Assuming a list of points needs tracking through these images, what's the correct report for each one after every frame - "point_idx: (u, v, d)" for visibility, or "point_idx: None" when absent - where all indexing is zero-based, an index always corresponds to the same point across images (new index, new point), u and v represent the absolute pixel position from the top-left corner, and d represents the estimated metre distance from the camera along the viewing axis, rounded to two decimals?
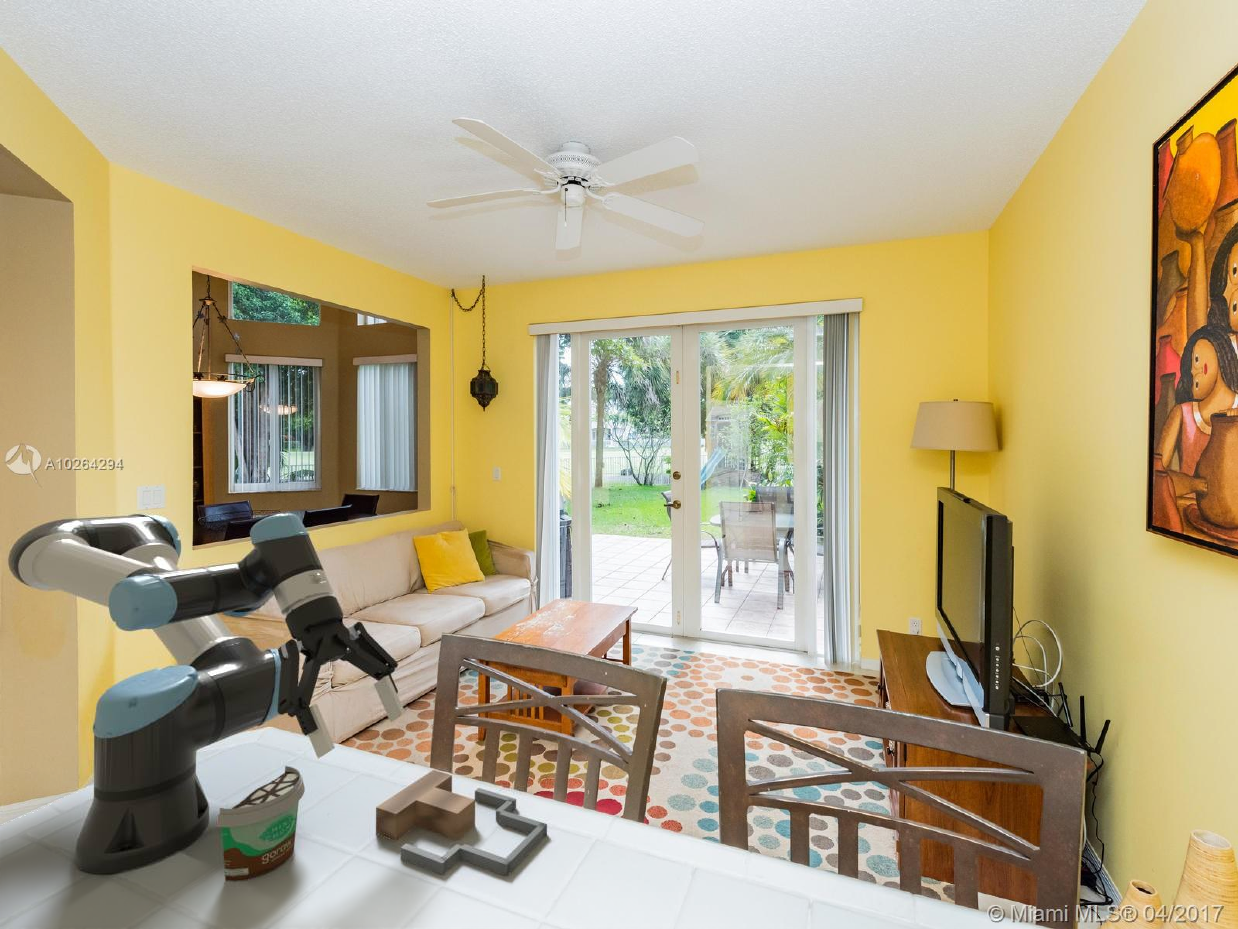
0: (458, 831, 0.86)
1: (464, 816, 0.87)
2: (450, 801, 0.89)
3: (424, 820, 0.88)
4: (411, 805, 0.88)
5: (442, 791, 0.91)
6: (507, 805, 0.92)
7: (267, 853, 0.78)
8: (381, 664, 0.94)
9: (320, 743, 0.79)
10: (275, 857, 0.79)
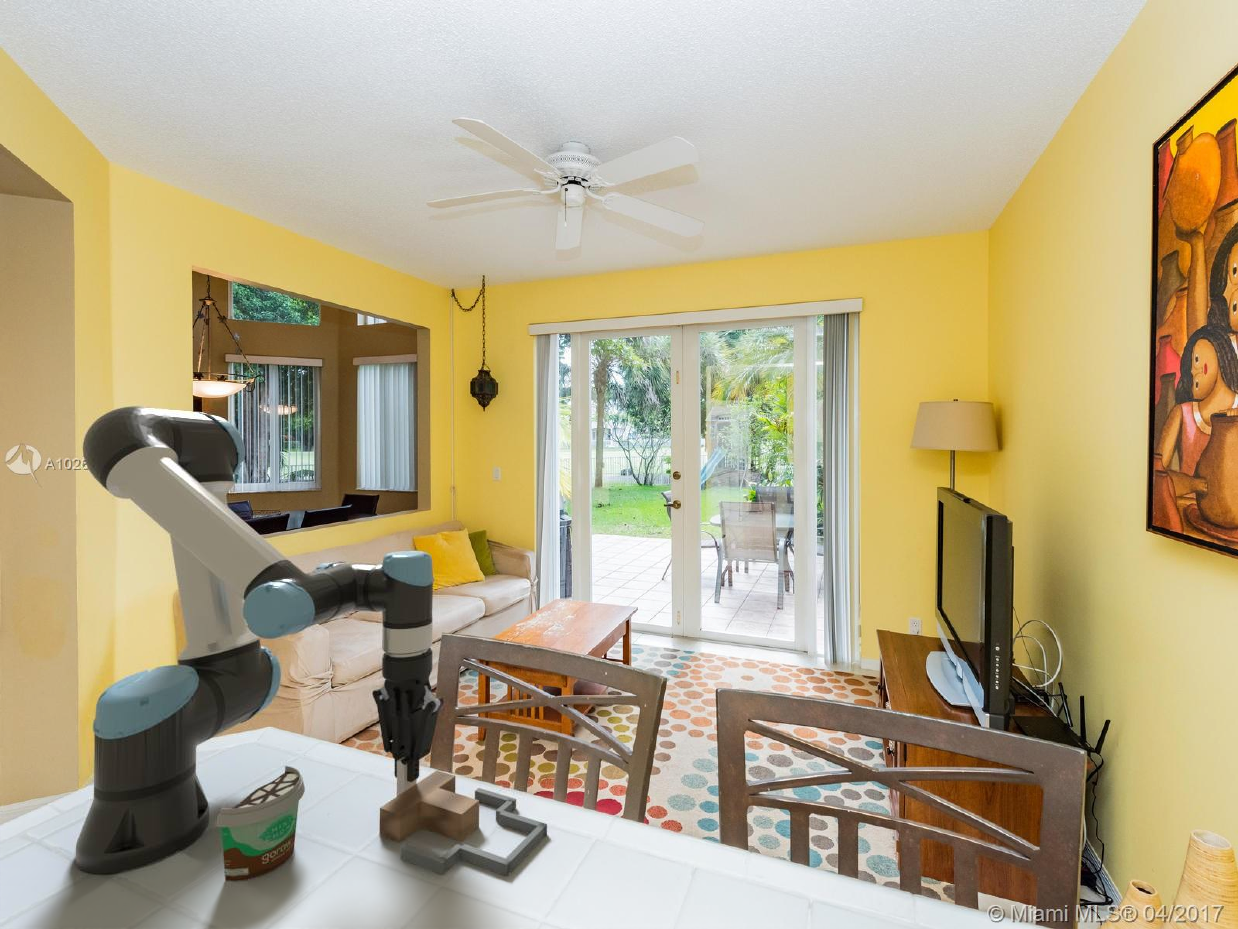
0: (462, 832, 0.86)
1: (468, 816, 0.87)
2: (454, 802, 0.89)
3: (428, 821, 0.88)
4: (415, 806, 0.88)
5: (446, 792, 0.91)
6: (507, 805, 0.92)
7: (267, 853, 0.78)
8: None
9: None
10: (275, 857, 0.79)
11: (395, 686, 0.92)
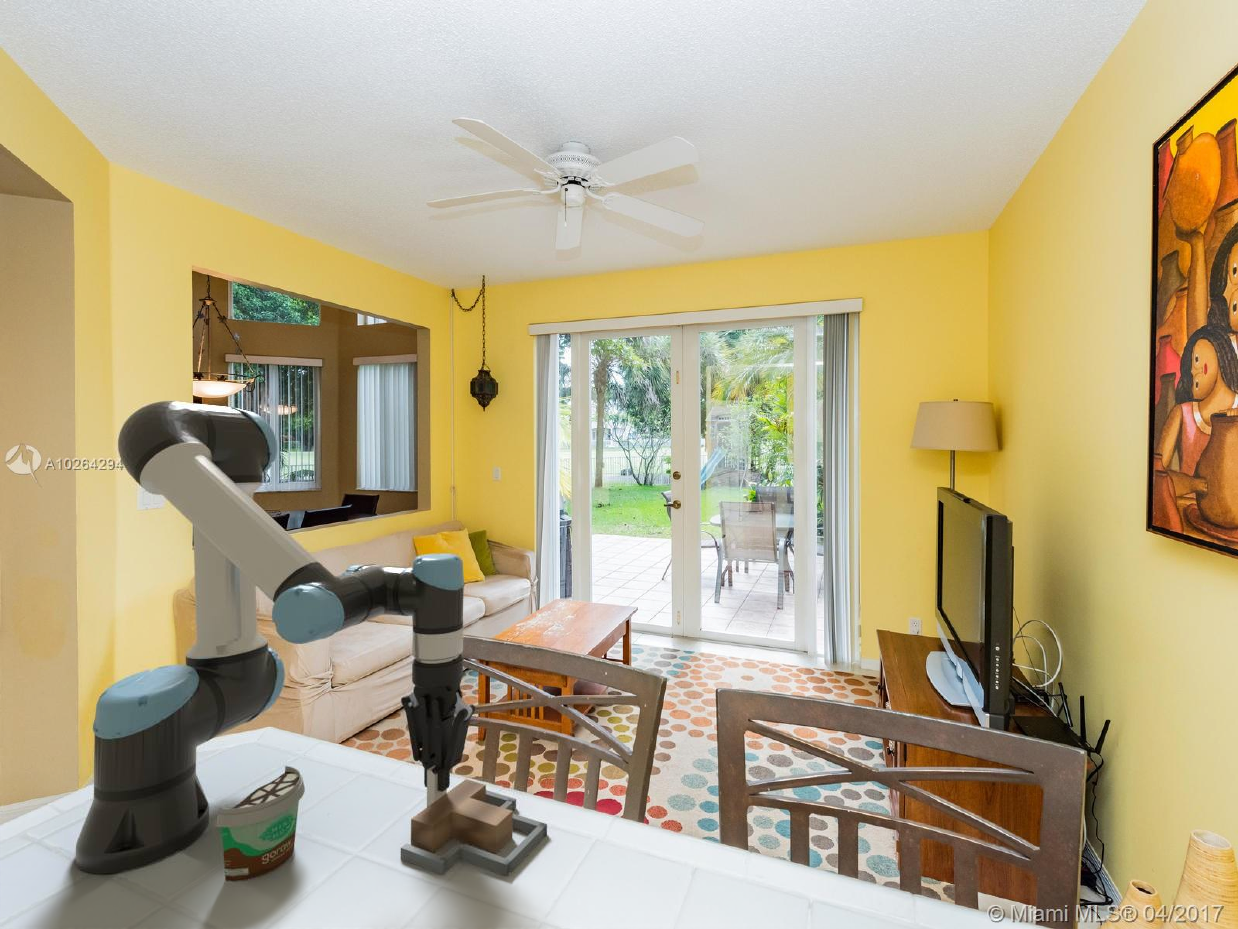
0: (496, 844, 0.83)
1: (502, 828, 0.84)
2: (487, 812, 0.86)
3: (460, 832, 0.85)
4: (447, 817, 0.85)
5: (477, 802, 0.88)
6: (507, 805, 0.92)
7: (267, 853, 0.78)
8: None
9: None
10: (275, 857, 0.79)
11: (425, 693, 0.90)
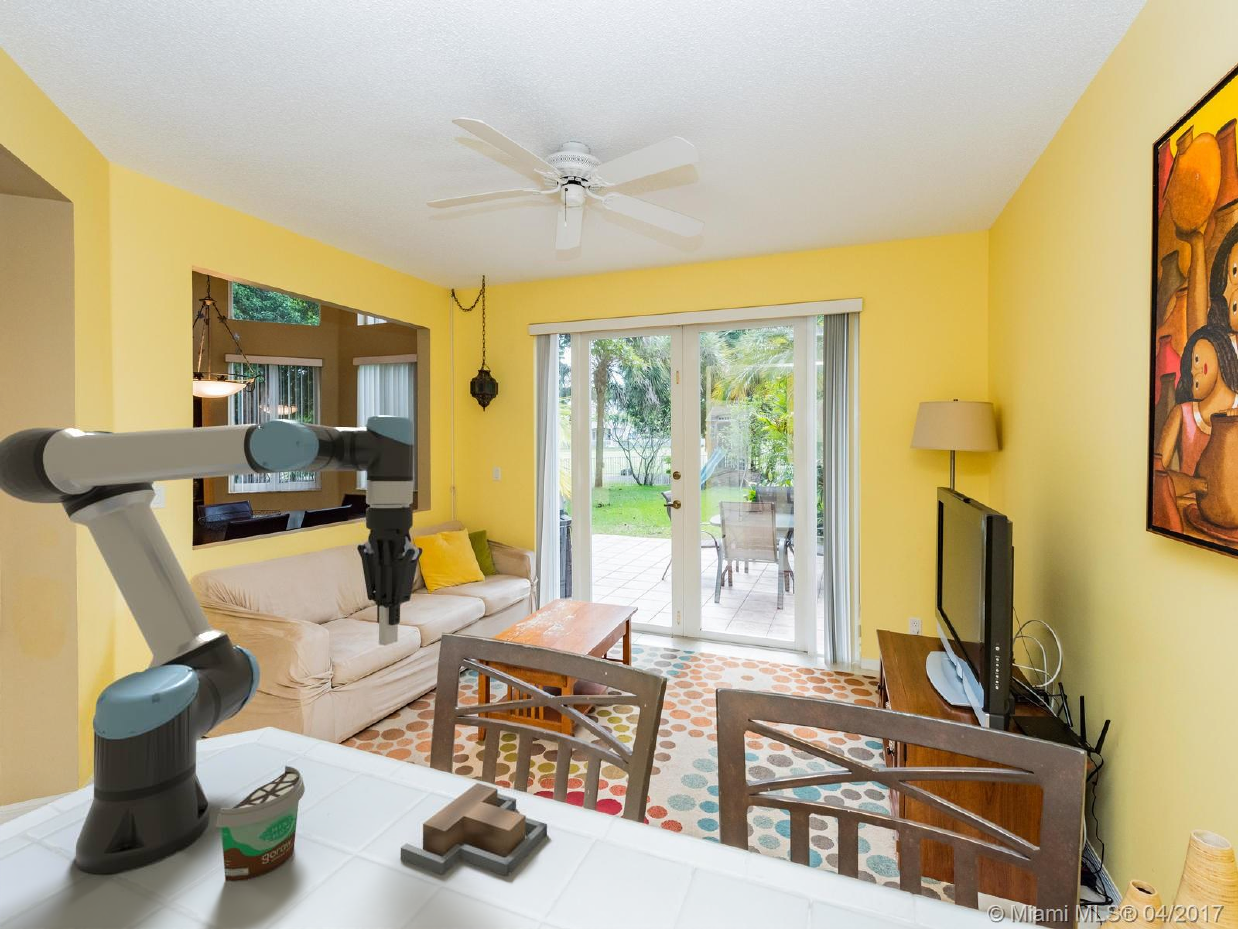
0: (510, 849, 0.82)
1: (515, 833, 0.83)
2: (500, 817, 0.85)
3: (473, 837, 0.84)
4: (459, 822, 0.84)
5: (490, 806, 0.87)
6: (507, 805, 0.92)
7: (267, 853, 0.78)
8: None
9: (392, 634, 1.00)
10: (275, 857, 0.79)
11: (378, 538, 1.00)
